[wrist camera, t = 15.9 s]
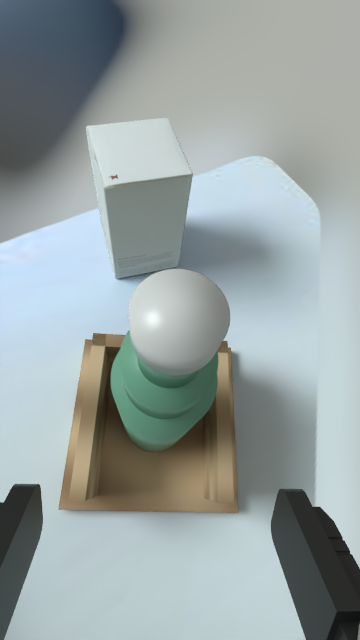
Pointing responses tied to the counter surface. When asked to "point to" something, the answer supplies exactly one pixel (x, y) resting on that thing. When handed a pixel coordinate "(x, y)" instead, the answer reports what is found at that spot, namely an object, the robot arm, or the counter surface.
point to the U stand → (141, 466)
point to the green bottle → (169, 357)
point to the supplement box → (140, 193)
